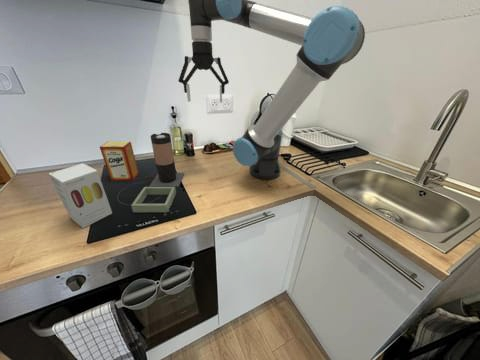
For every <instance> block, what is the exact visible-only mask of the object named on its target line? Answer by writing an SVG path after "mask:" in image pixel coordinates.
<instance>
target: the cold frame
mask: <svg viewBox="0 0 480 360" xmlns="http://www.w3.org/2000/svg"><path fill="white" fill-rule="evenodd" d="M148 195H149V196H150V195H151V196H152V195H155V196H156V195H161V196H162V195H164V196H165V195H166V196H167V195H168V196H167V198H166V201H165V202H164V203H143V202H144V201H145V199H146V197H147V196H148ZM176 195H177V190H176V187H150V186H144V187H143V188H142V189H141V191H140V192H139V194H138V195H137V196H136V198H135V199H134V201H133V202H132V203H131V209H132V213H169V211H170V209H171V207H172V204H173V201H174V200H175V197H176ZM170 206H171V207H170ZM169 208H170V209H169Z"/></svg>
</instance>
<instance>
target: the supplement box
mask: <svg viewBox="0 0 480 360" xmlns="http://www.w3.org/2000/svg"><path fill="white" fill-rule="evenodd" d="M48 176H49V178H50V181H51V182H52V183H53V186H54V188H55V190H56V192H57V194H58V196H59V198H60V200H61V202H62V204H63V206H64V208H65V210H66V212H67V214H68V216H69V219H71V220H72V221H73V222H75V223H76V224H77V225H78V226H80V228H82V229H85V228H86V227H88V226H91V225H93V224H94V223H96V222H98V221H100V220H102V219H104V218H107V217H108V216H110V215H112V214H113V210H112V208H111V206H110V202H109V200H108V197H107V194H106V192H105V191H106V190H105V189H104V186H103V184H102V180H101V177H100V174H99V172H98V169H95V168H93V167H92V166H89V165H87V164H85V163H80V164H76V165H73V166H70V167H66V168H62V169H59V170H56V171H53V172H52V171H51V172H49V173H48Z"/></svg>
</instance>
